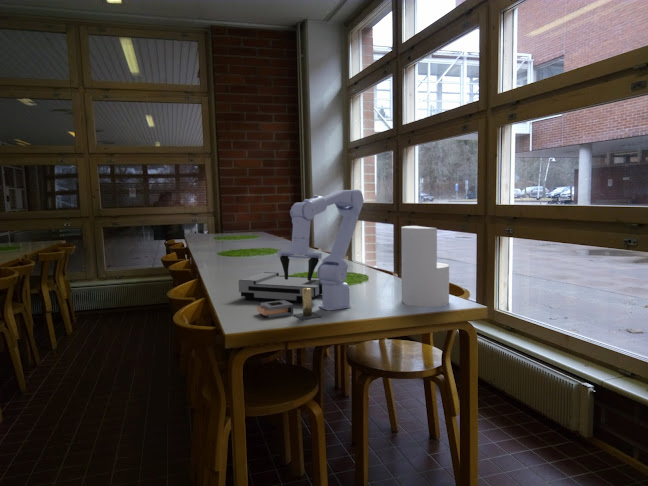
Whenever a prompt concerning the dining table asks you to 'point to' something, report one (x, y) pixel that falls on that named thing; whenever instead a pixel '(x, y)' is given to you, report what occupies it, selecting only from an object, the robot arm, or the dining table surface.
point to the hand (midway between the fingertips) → (297, 280)
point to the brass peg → (307, 302)
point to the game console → (278, 288)
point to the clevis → (276, 308)
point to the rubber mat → (307, 316)
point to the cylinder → (423, 269)
